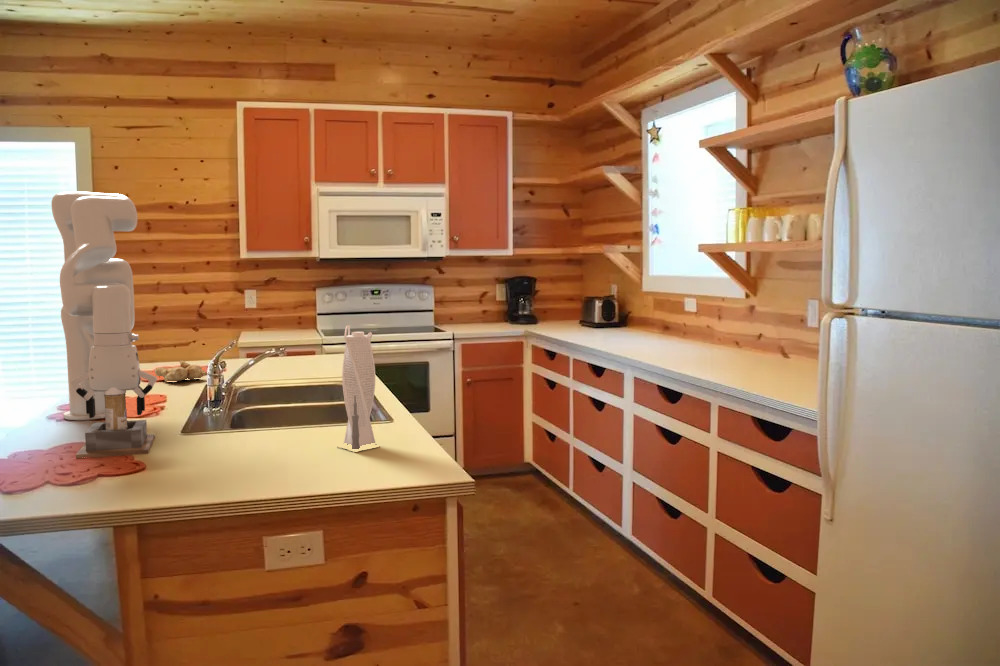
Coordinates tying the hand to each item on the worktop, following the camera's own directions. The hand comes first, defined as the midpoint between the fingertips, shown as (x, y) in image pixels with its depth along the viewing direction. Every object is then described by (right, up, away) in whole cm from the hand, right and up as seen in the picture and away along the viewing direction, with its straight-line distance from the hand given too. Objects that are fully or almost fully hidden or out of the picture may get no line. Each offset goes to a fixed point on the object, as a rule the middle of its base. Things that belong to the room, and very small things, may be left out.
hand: (116, 415), depth 169 cm
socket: (0, -8, +1) cm, 8 cm away
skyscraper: (+54, -8, +3) cm, 55 cm away
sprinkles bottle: (0, -7, +1) cm, 7 cm away
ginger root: (-24, +2, +91) cm, 94 cm away
